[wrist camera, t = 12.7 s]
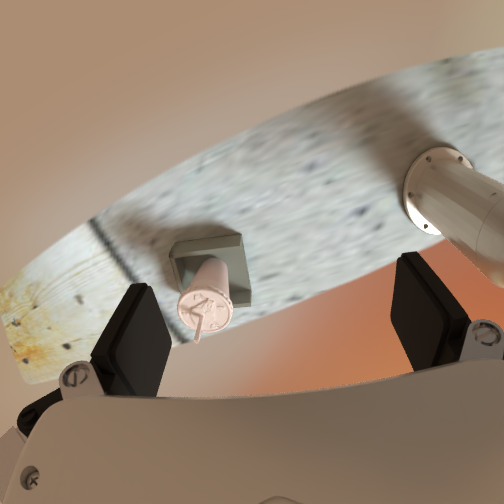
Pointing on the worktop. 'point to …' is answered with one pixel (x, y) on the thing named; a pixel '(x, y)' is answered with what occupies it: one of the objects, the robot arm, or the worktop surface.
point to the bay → (225, 248)
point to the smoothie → (207, 299)
